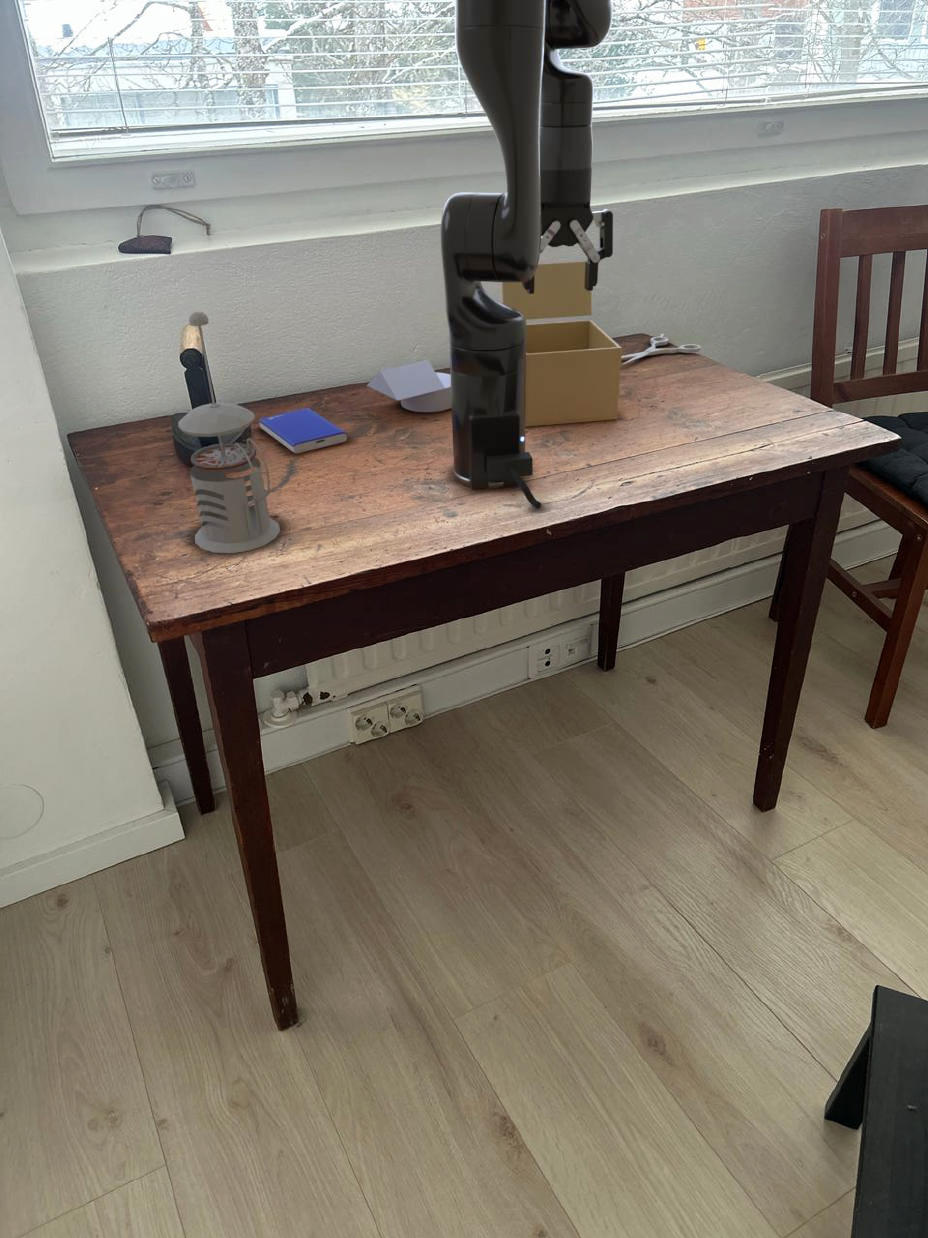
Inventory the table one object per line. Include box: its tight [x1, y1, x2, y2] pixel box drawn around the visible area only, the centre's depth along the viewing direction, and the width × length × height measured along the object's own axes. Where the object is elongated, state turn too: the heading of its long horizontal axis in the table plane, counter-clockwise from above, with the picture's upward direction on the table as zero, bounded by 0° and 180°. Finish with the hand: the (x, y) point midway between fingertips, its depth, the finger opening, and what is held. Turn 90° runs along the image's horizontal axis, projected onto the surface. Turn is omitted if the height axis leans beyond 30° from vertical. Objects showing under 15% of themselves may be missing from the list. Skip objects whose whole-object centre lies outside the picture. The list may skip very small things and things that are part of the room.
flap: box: [501, 260, 592, 321], centre depth 137 cm, size 8×14×1 cm
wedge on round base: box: [366, 359, 452, 413], centre depth 138 cm, size 9×7×13 cm
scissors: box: [621, 333, 701, 365], centre depth 158 cm, size 11×1×20 cm
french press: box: [177, 311, 281, 554], centre depth 96 cm, size 10×12×25 cm
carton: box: [525, 319, 623, 428], centre depth 135 cm, size 16×14×10 cm
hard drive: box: [258, 407, 348, 454], centre depth 129 cm, size 2×8×12 cm
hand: (559, 291), depth 127 cm, fingers open, 8 cm apart
